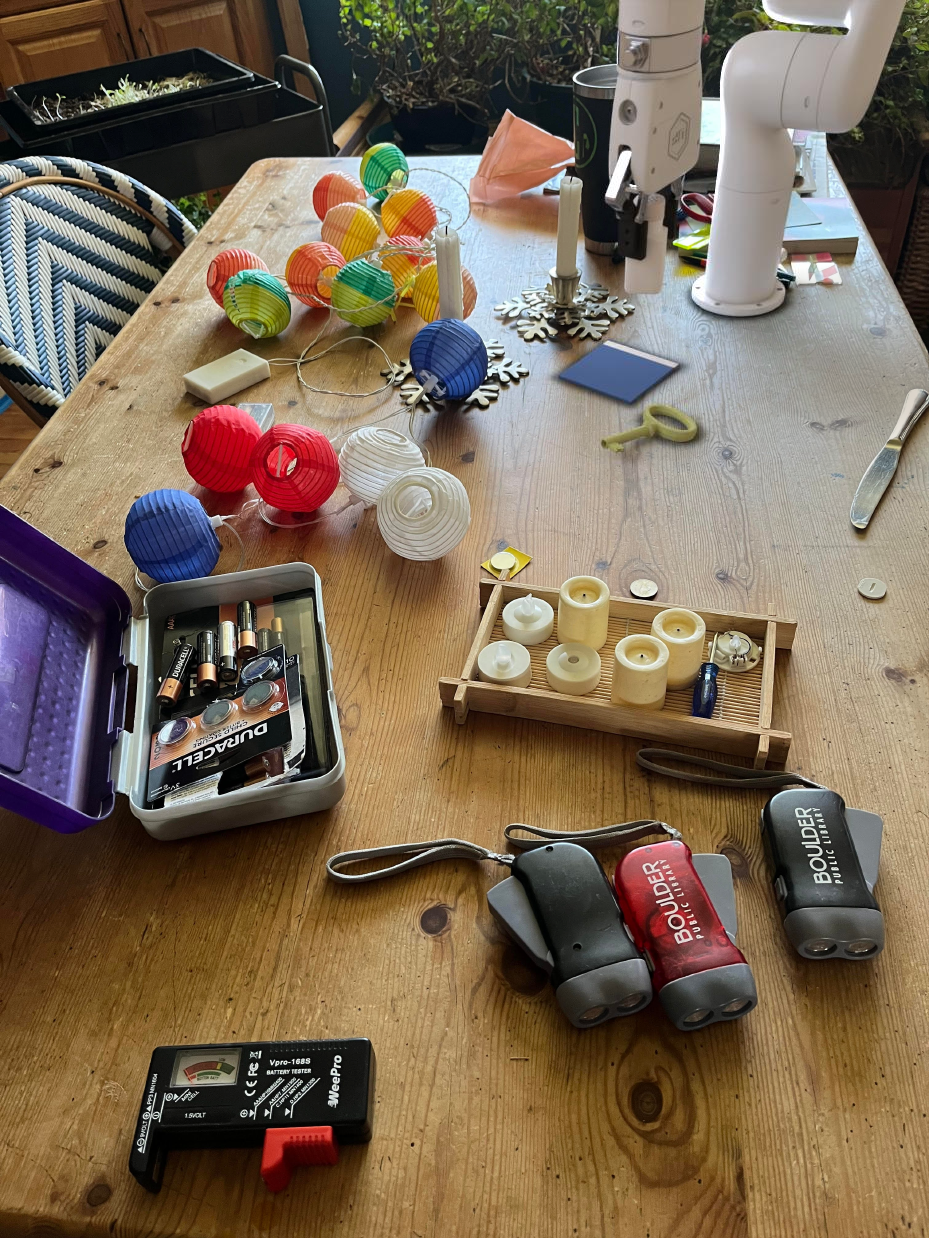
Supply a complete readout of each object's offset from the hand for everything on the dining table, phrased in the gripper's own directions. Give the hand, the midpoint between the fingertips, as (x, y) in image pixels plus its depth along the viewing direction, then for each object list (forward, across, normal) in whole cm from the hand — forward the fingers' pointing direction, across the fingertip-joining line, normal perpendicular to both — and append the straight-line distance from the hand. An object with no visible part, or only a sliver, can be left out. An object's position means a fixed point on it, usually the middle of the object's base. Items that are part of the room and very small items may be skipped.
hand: (646, 244), depth 92 cm
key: (+19, -6, -6) cm, 21 cm away
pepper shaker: (+5, 0, 0) cm, 5 cm away
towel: (+19, +4, +5) cm, 20 cm away
